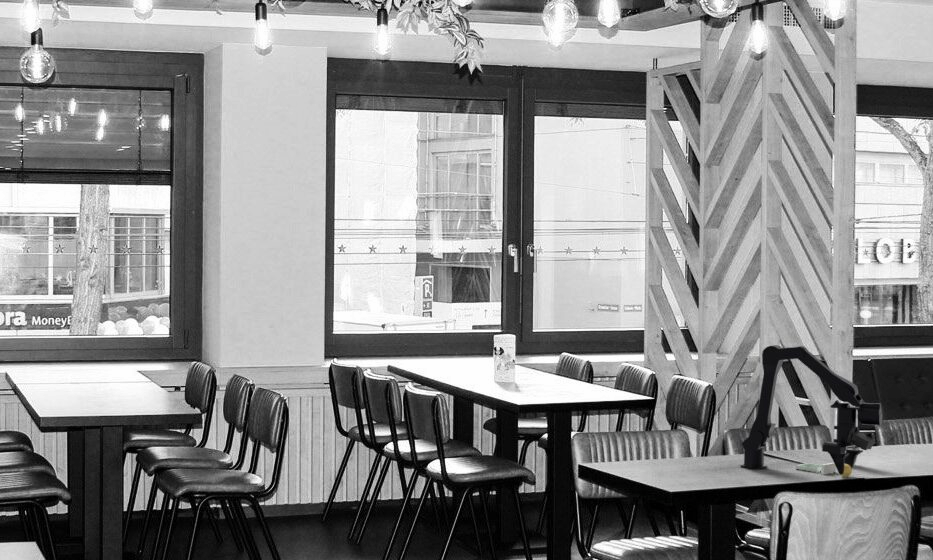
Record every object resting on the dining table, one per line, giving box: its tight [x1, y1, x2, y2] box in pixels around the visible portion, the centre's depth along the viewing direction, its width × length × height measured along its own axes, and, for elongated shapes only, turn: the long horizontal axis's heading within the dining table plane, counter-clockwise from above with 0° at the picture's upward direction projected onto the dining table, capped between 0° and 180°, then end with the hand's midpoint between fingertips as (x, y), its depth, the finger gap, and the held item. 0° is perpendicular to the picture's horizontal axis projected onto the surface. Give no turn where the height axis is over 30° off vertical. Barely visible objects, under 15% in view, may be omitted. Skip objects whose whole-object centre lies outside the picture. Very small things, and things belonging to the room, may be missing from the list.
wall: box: [820, 462, 837, 475], centre depth 369 cm, size 7×1×3 cm, turn 133°
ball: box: [839, 464, 853, 478], centre depth 363 cm, size 4×4×4 cm
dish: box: [795, 462, 822, 473], centre depth 375 cm, size 8×8×1 cm
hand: (845, 473), depth 363 cm, fingers open, 5 cm apart
